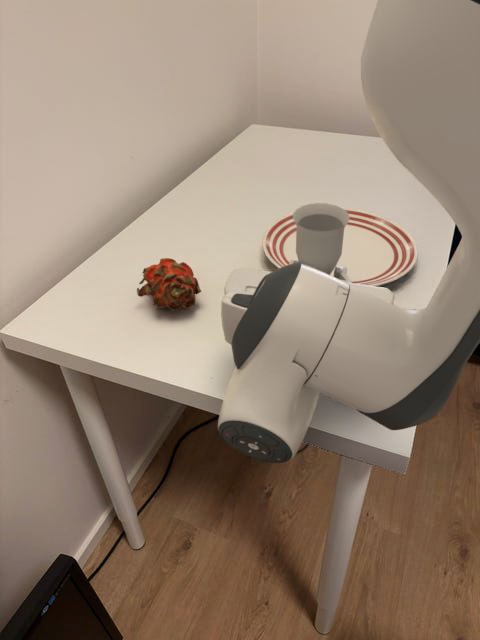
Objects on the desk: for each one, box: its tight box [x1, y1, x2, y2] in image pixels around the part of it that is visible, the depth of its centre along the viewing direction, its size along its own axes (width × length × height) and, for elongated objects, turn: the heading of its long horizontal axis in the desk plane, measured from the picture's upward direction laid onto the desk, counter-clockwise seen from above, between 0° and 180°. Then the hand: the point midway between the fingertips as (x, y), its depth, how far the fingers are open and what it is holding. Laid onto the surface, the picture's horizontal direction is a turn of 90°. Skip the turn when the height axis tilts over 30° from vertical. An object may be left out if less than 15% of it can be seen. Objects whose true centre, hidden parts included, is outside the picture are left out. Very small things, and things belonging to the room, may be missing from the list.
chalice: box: [292, 202, 349, 275], centre depth 64 cm, size 7×7×18 cm
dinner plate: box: [261, 207, 419, 287], centre depth 88 cm, size 27×27×3 cm
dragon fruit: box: [136, 257, 202, 311], centre depth 78 cm, size 8×8×12 cm
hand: (318, 267), depth 64 cm, fingers closed on chalice, 4 cm apart
